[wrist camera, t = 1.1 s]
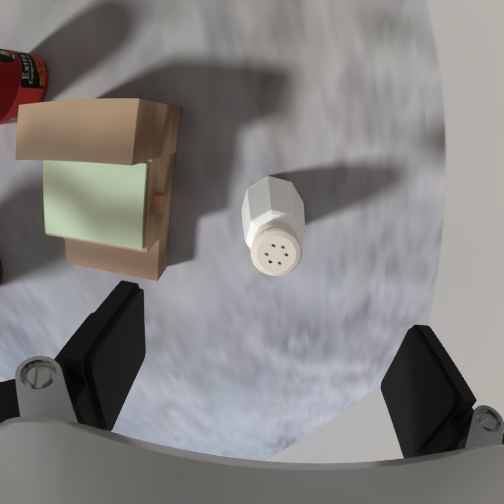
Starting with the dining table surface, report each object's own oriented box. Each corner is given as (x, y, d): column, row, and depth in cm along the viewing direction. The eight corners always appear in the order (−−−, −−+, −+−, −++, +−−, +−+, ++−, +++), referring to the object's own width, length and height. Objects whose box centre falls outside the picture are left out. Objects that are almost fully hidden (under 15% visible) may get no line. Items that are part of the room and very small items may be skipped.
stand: (84, 105, 24) (18, 105, 15) (188, 108, 24) (148, 98, 15) (80, 250, 29) (28, 293, 21) (172, 267, 30) (139, 323, 21)
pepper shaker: (266, 162, 26) (266, 184, 15) (315, 200, 27) (346, 245, 16) (229, 212, 27) (207, 263, 17) (278, 246, 28) (284, 313, 18)
